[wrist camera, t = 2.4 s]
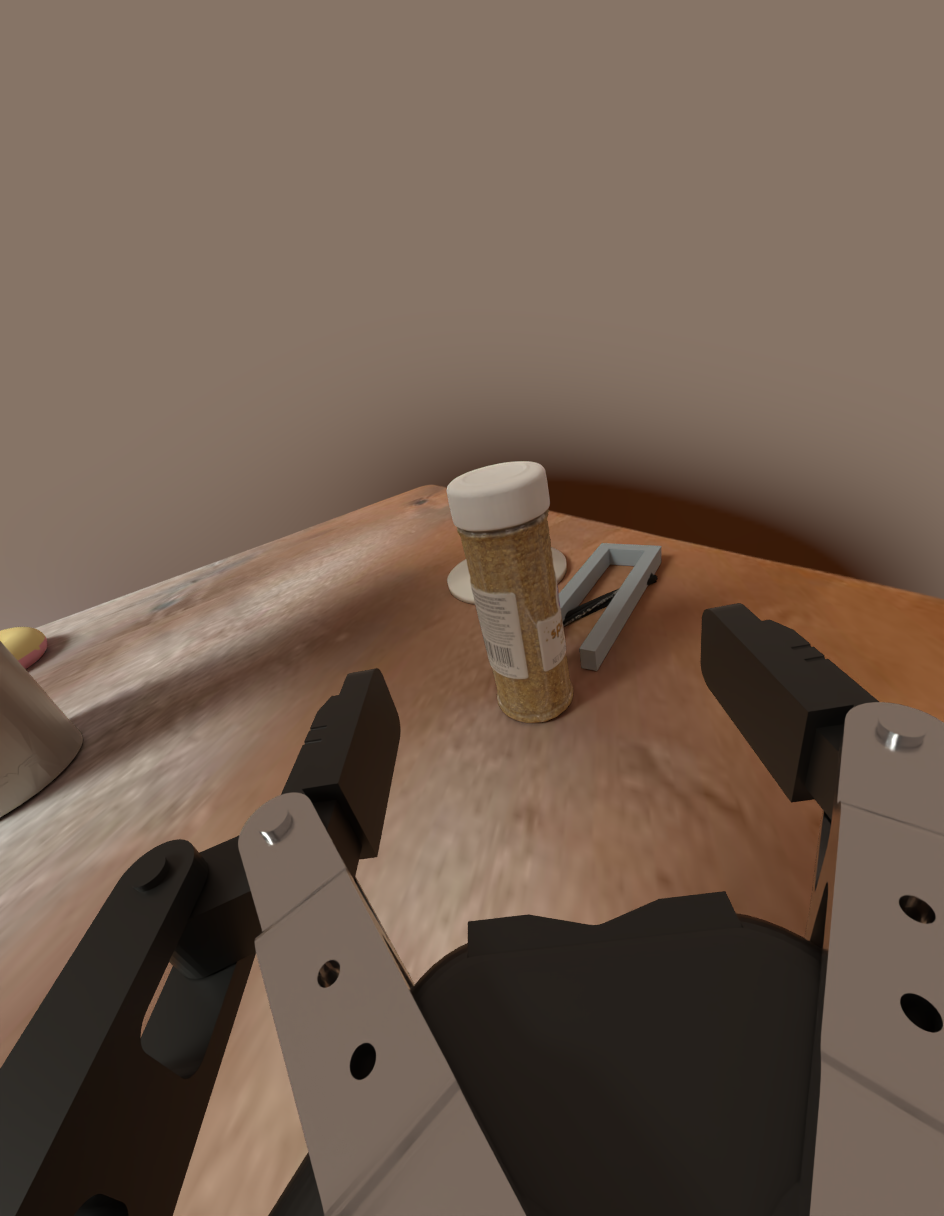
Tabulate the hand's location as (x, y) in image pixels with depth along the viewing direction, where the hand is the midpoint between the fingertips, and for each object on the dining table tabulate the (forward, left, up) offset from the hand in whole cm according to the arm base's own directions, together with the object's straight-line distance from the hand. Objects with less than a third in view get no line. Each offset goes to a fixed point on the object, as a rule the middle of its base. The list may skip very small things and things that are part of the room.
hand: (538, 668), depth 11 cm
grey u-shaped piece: (-7, +20, -11) cm, 24 cm away
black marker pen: (-7, +20, -12) cm, 24 cm away
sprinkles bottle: (-7, +9, -11) cm, 16 cm away
